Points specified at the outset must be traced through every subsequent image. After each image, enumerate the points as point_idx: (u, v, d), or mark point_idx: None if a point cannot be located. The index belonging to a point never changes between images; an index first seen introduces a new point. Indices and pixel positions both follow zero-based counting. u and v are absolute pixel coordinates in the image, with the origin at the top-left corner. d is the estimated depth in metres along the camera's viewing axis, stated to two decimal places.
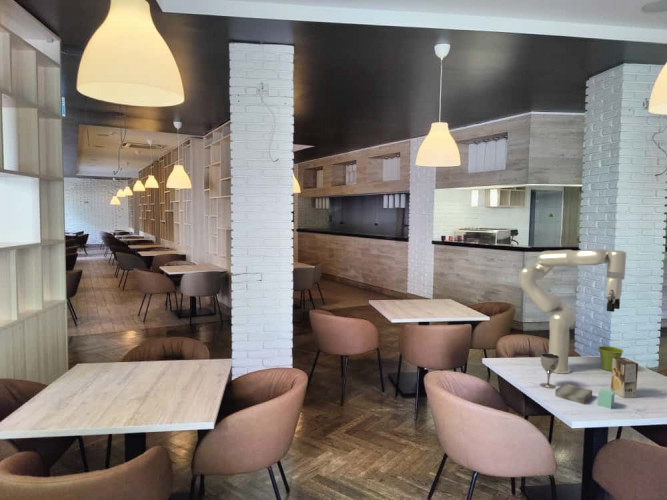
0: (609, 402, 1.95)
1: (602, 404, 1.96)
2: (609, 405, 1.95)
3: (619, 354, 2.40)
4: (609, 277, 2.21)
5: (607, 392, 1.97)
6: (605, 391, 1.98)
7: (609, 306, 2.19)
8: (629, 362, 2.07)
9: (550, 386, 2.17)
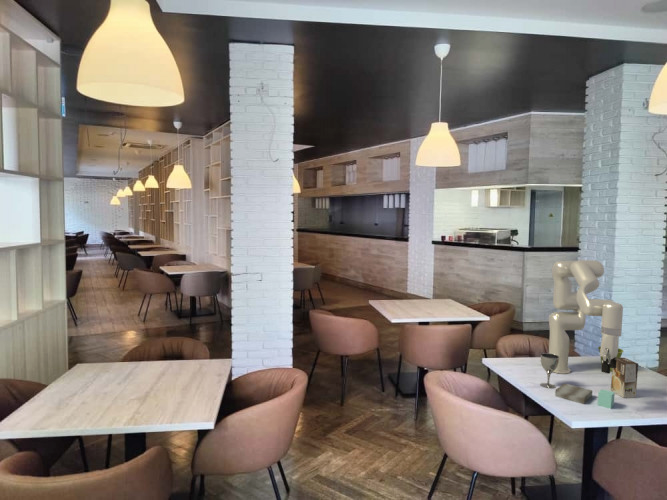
0: (609, 402, 1.95)
1: (602, 404, 1.96)
2: (609, 405, 1.95)
3: (619, 354, 2.40)
4: (604, 333, 1.94)
5: (607, 392, 1.97)
6: (605, 391, 1.98)
7: (604, 367, 1.92)
8: (629, 362, 2.07)
9: (550, 386, 2.17)
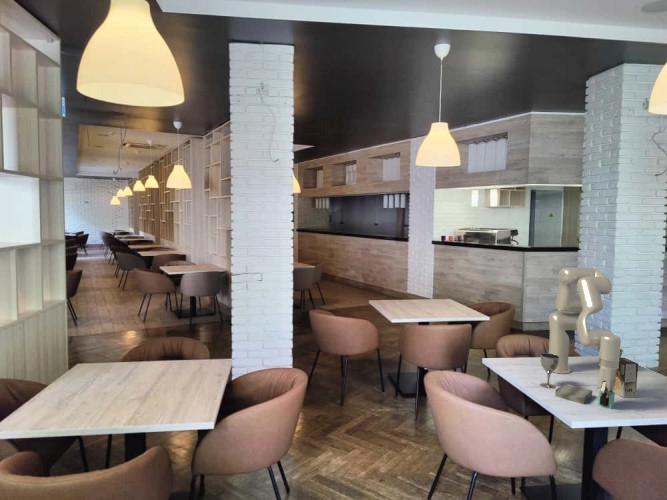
0: (609, 402, 1.95)
1: None
2: (609, 405, 1.95)
3: None
4: (601, 365, 1.95)
5: None
6: (605, 391, 1.98)
7: (603, 400, 1.95)
8: (629, 362, 2.07)
9: (550, 386, 2.17)
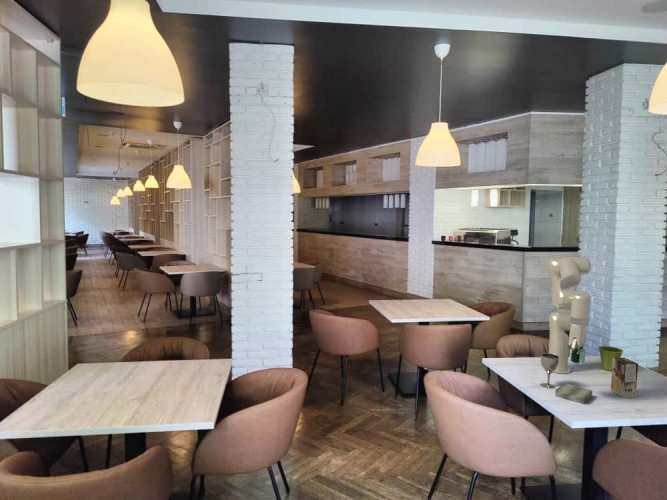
0: (580, 358, 2.02)
1: None
2: (580, 361, 2.02)
3: (619, 354, 2.40)
4: (572, 323, 2.03)
5: None
6: None
7: (573, 356, 2.03)
8: (629, 362, 2.07)
9: (550, 386, 2.17)
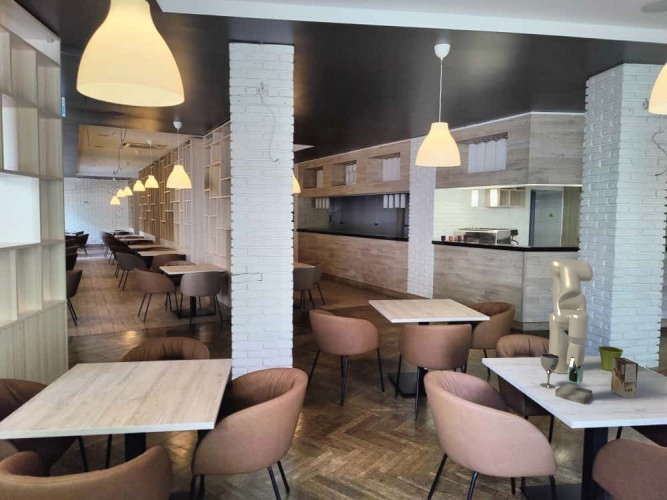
0: (577, 377, 2.03)
1: None
2: (577, 380, 2.03)
3: (619, 354, 2.40)
4: (570, 342, 2.04)
5: None
6: None
7: (571, 376, 2.03)
8: (629, 362, 2.07)
9: (550, 386, 2.17)
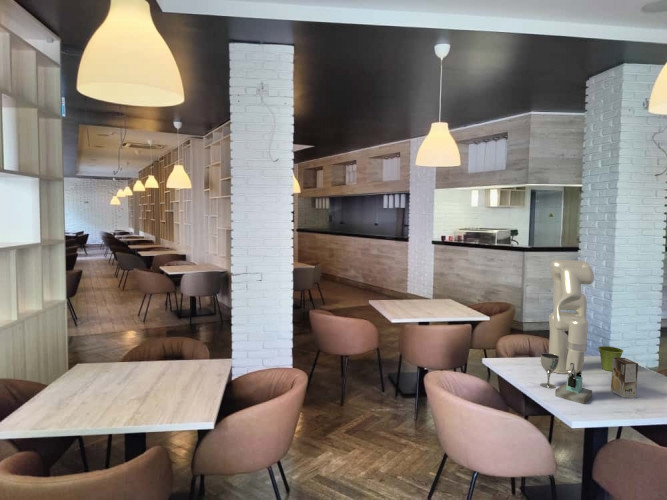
0: (577, 386, 2.03)
1: (570, 388, 2.05)
2: (577, 389, 2.04)
3: (619, 354, 2.40)
4: (570, 348, 2.04)
5: None
6: None
7: (570, 381, 2.03)
8: (629, 362, 2.07)
9: (550, 386, 2.17)
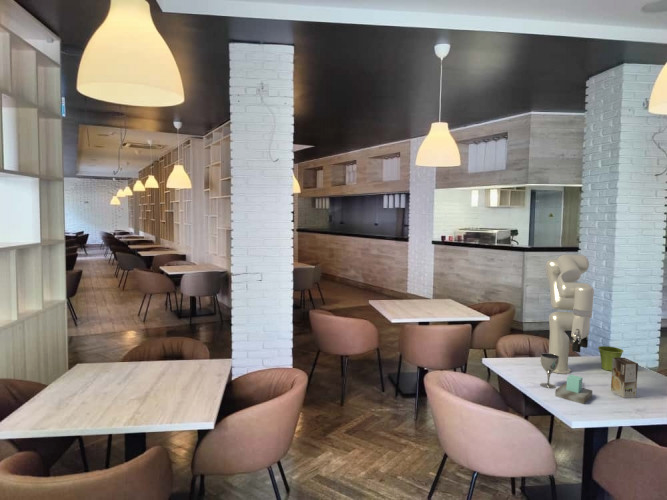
0: (577, 386, 2.03)
1: (570, 388, 2.05)
2: (577, 389, 2.04)
3: (619, 354, 2.40)
4: (575, 315, 2.06)
5: (575, 377, 2.06)
6: (573, 377, 2.07)
7: (575, 346, 2.04)
8: (629, 362, 2.07)
9: (550, 386, 2.17)
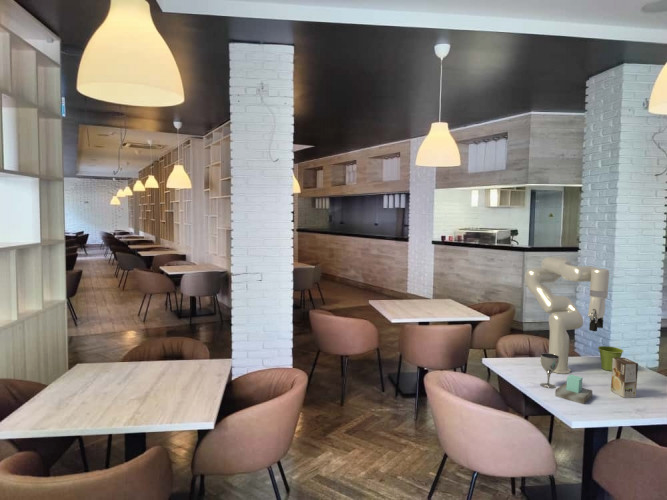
0: (577, 386, 2.03)
1: (570, 388, 2.05)
2: (577, 389, 2.04)
3: (619, 354, 2.40)
4: (592, 296, 2.16)
5: (575, 377, 2.06)
6: (573, 377, 2.07)
7: (592, 326, 2.14)
8: (629, 362, 2.07)
9: (550, 386, 2.17)
